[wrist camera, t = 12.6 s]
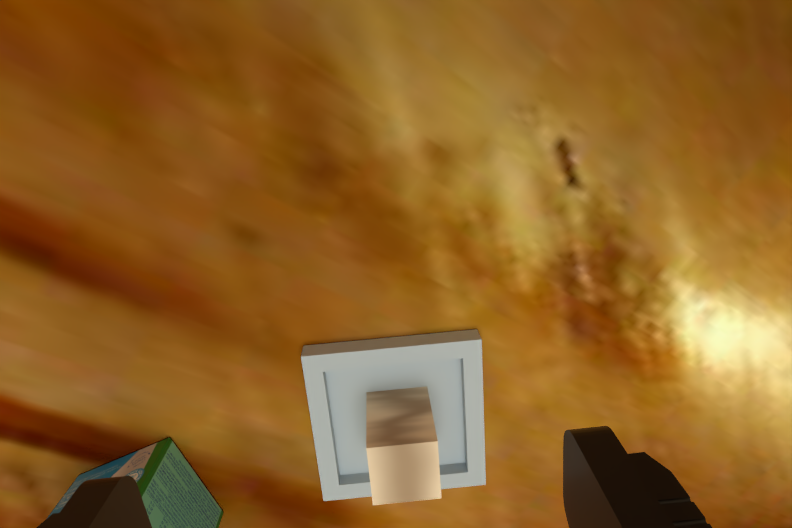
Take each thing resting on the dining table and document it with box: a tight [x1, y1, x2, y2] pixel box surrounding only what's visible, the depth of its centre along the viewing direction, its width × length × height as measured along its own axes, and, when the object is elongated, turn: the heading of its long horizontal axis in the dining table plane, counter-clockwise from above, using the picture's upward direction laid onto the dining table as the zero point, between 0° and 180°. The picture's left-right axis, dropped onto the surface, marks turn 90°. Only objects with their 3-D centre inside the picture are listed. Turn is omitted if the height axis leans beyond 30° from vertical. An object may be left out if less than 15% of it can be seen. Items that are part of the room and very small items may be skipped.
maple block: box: [366, 386, 441, 505], centre depth 40 cm, size 5×5×7 cm
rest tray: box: [301, 329, 486, 501], centre depth 44 cm, size 14×14×2 cm
